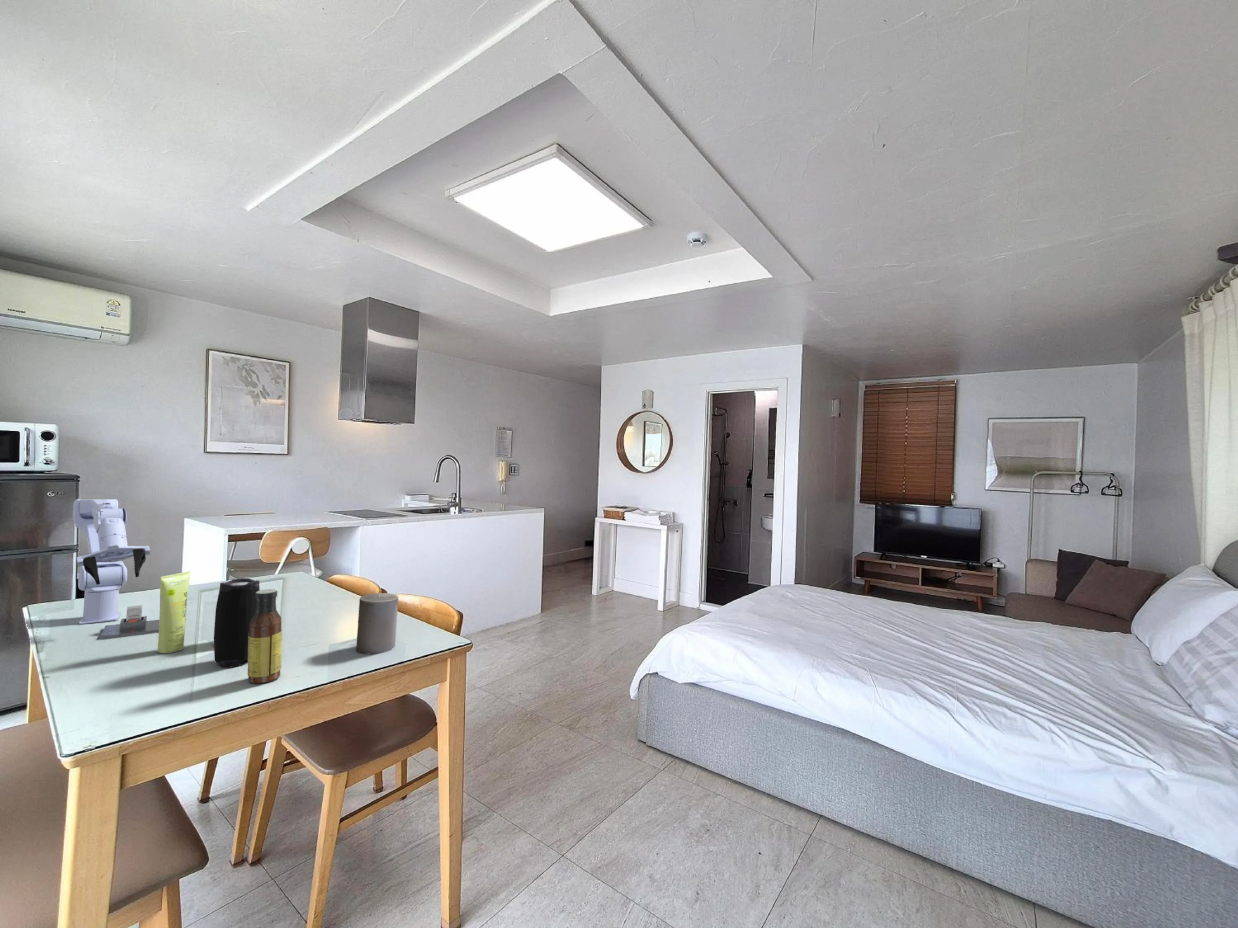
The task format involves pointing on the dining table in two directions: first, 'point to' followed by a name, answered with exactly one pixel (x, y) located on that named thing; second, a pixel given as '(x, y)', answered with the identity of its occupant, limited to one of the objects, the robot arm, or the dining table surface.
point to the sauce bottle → (265, 639)
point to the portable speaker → (234, 620)
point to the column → (134, 613)
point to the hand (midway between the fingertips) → (117, 578)
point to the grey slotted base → (130, 628)
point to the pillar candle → (377, 623)
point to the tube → (173, 611)
